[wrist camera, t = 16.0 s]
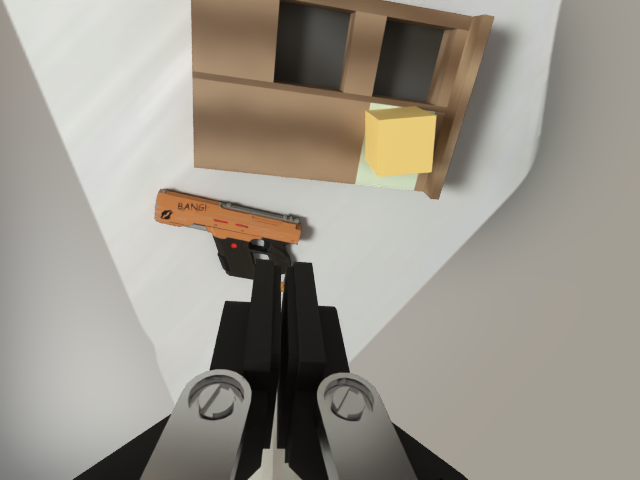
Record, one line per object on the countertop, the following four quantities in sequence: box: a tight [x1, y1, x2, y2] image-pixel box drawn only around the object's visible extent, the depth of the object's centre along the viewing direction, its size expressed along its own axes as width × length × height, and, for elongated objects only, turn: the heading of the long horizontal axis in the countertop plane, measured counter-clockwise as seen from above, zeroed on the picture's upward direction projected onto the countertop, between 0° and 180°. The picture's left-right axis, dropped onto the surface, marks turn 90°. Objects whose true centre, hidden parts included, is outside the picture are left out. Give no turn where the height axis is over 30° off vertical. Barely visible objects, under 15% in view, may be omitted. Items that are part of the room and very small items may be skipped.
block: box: [365, 106, 437, 177], centre depth 31 cm, size 4×4×5 cm
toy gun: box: [154, 189, 301, 292], centre depth 40 cm, size 15×2×10 cm
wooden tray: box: [191, 0, 495, 200], centre depth 32 cm, size 15×23×5 cm, turn 82°
